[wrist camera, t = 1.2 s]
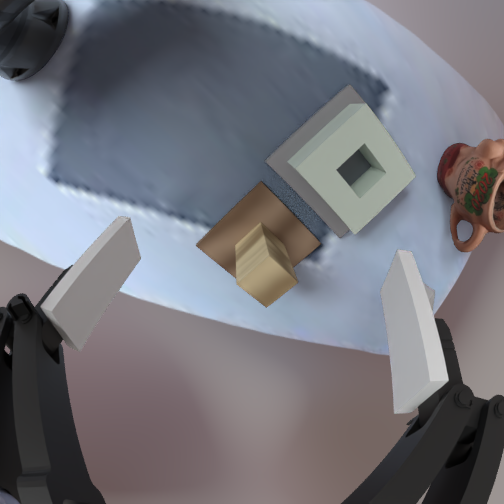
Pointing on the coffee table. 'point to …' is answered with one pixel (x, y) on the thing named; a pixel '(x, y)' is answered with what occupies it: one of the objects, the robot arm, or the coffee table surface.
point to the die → (430, 295)
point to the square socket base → (343, 163)
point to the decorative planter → (474, 188)
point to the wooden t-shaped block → (260, 244)
